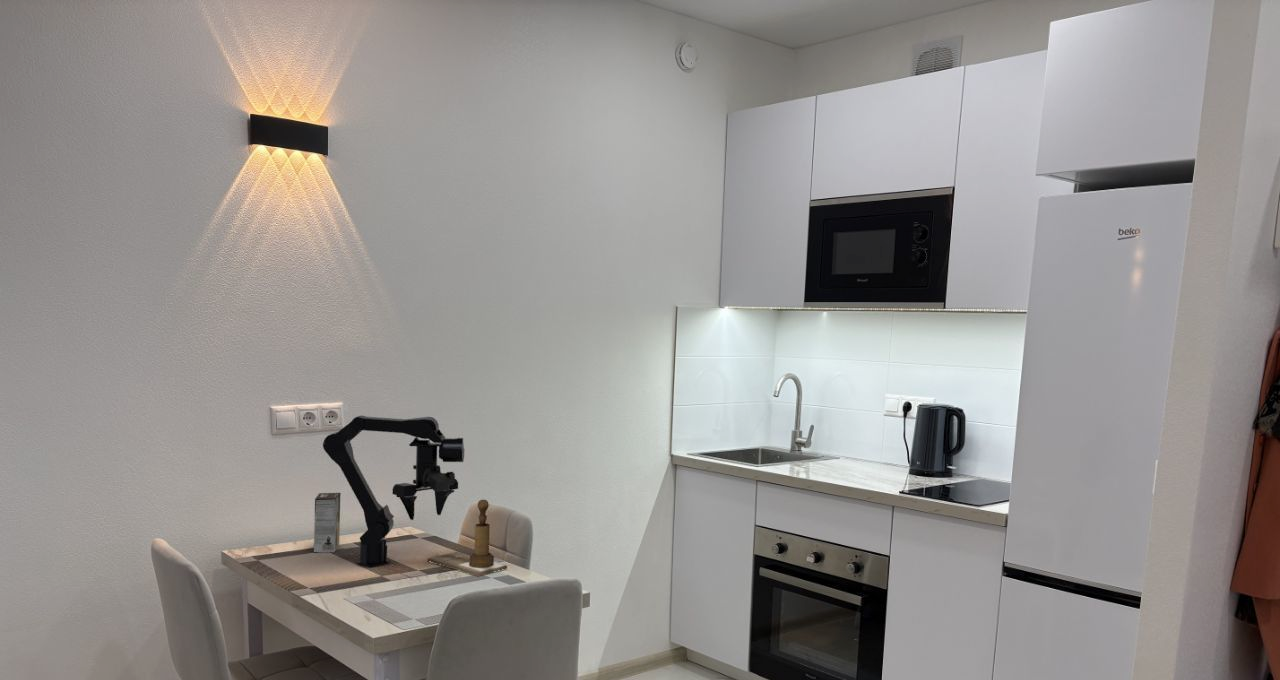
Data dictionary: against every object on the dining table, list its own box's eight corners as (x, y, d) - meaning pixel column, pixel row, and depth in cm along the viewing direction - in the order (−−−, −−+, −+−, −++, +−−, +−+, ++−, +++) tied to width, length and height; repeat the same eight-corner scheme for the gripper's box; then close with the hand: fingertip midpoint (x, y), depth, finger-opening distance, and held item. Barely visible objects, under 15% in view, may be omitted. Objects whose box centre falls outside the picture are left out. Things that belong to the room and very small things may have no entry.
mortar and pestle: (473, 568, 232) (475, 502, 232) (466, 563, 238) (467, 498, 238) (496, 566, 235) (498, 501, 235) (489, 560, 241) (490, 497, 241)
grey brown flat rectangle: (477, 576, 229) (477, 572, 229) (427, 561, 243) (427, 557, 243) (507, 569, 237) (507, 564, 237) (456, 555, 251) (456, 551, 251)
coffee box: (317, 545, 258) (318, 492, 258) (339, 545, 260) (341, 492, 260) (313, 553, 249) (314, 498, 250) (336, 552, 251) (337, 497, 251)
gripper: (416, 468, 229) (415, 526, 229) (471, 461, 243) (470, 516, 243) (391, 464, 236) (390, 520, 236) (446, 457, 250) (445, 511, 250)
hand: (425, 517), depth 241 cm, fingers open, 9 cm apart
